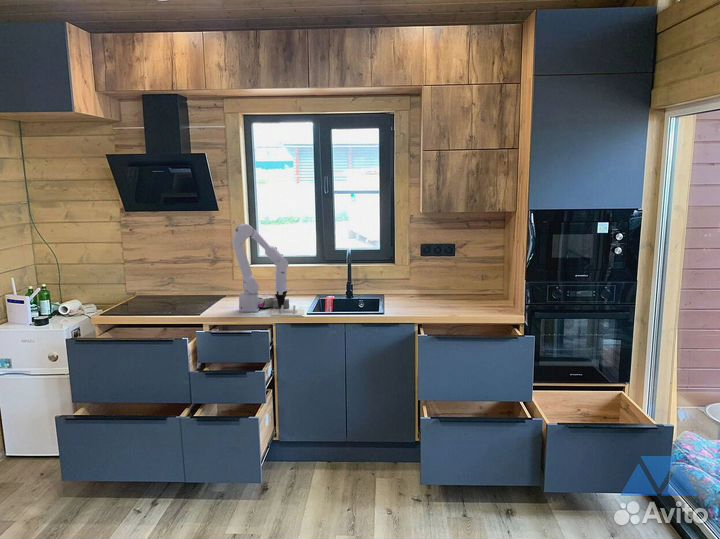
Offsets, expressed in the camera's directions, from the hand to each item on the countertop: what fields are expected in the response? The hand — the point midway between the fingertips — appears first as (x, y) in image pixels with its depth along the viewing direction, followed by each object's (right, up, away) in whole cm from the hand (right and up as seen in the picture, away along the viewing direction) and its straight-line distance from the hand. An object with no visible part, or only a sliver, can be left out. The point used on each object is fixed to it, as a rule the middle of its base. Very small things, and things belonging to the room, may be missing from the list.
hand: (281, 306), depth 282 cm
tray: (+5, -3, -10) cm, 12 cm away
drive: (0, -2, 0) cm, 2 cm away
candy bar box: (-4, +3, +13) cm, 14 cm away
